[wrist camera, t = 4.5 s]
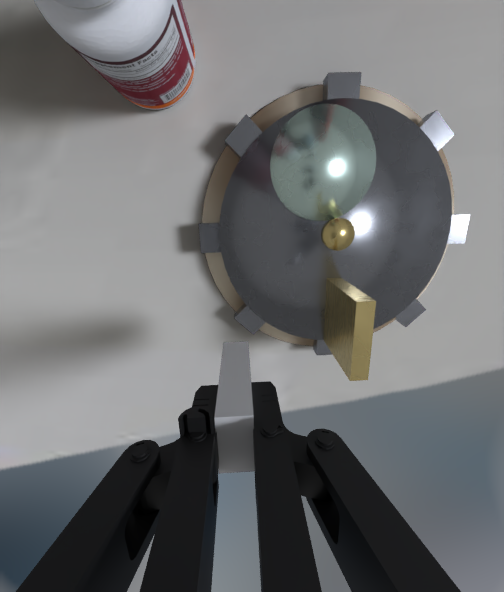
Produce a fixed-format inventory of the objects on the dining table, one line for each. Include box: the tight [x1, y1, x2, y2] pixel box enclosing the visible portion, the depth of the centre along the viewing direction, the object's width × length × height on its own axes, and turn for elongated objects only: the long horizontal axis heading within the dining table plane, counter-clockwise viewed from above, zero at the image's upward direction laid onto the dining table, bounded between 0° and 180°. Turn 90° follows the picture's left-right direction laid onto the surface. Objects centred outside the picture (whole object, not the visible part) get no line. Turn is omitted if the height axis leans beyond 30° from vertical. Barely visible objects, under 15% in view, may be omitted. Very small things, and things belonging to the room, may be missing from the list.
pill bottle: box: [34, 0, 196, 110], centre depth 14 cm, size 6×6×11 cm
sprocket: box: [199, 72, 470, 381], centre depth 19 cm, size 21×21×8 cm
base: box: [202, 85, 454, 346], centre depth 23 cm, size 21×21×1 cm
